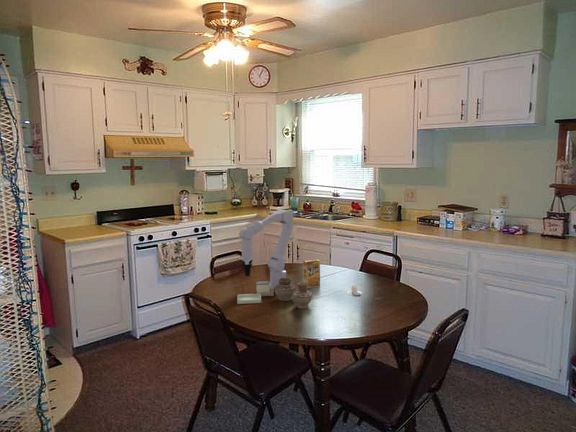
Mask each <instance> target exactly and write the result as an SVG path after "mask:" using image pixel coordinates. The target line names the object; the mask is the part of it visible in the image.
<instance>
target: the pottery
mask: <svg viewBox="0 0 576 432" xmlns="http://www.w3.org/2000/svg"><path fill="white" fill-rule="evenodd" d="M291 281H292V279H291V278H290V277H286V278H280V279H279V284H278V285H276V286H275V287H274V294H275V295H276V296H278V297H279V301H283V302H286V301H287V302H288V301H290V300H291V299H292V297H293V300H294V302H295V303H296V304H297V305H296V306H297V307H296V308H298V309H307V308H309V304H310V303H311V302H312V300H313V299H312V298H313V293H312V291H310V290H308V288H307V285H308V283H306V282H304V281H301V282H300V281H299V282H297V286H295V285H294V284H292V283H291ZM296 288H298V289H297V290H296Z"/></svg>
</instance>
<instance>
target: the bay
mask: <svg viewBox="0 0 576 432" xmlns="http://www.w3.org/2000/svg"><path fill="white" fill-rule="evenodd" d="M256 294H261V297H268V296H269V297H273V296H274V295H275V290H274V288H273V285H270V292H261V293H257V292H256Z"/></svg>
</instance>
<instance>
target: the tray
mask: <svg viewBox="0 0 576 432" xmlns="http://www.w3.org/2000/svg"><path fill="white" fill-rule="evenodd" d="M236 303H237V305H242V304H244V305H245V304H260V303H261V304H262V296H261V294H257V293H245V294H241V293H240V294H237V299H236Z"/></svg>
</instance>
